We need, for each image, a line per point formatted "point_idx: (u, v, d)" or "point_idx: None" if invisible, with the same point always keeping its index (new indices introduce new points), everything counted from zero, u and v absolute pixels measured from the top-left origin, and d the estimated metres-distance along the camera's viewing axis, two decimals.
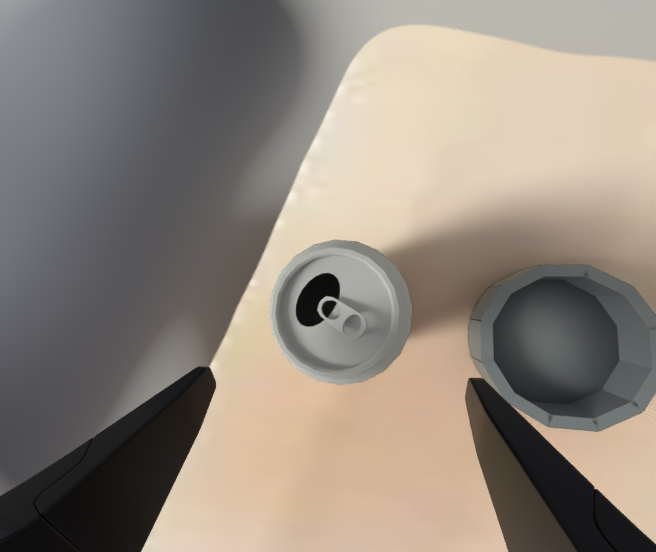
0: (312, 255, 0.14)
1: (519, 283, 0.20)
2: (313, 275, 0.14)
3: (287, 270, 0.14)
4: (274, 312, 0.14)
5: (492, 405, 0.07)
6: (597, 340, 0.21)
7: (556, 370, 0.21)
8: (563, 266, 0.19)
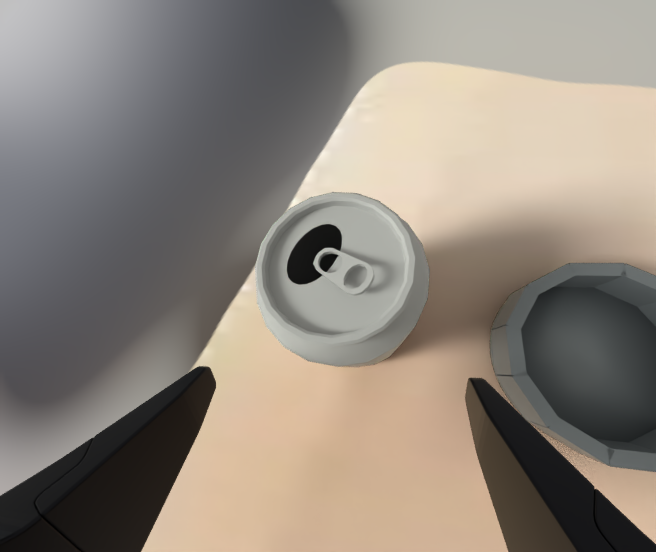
0: (311, 201, 0.12)
1: (547, 283, 0.17)
2: (310, 227, 0.12)
3: (281, 218, 0.12)
4: (260, 264, 0.11)
5: (492, 405, 0.07)
6: (650, 359, 0.17)
7: (604, 396, 0.17)
8: (596, 264, 0.17)
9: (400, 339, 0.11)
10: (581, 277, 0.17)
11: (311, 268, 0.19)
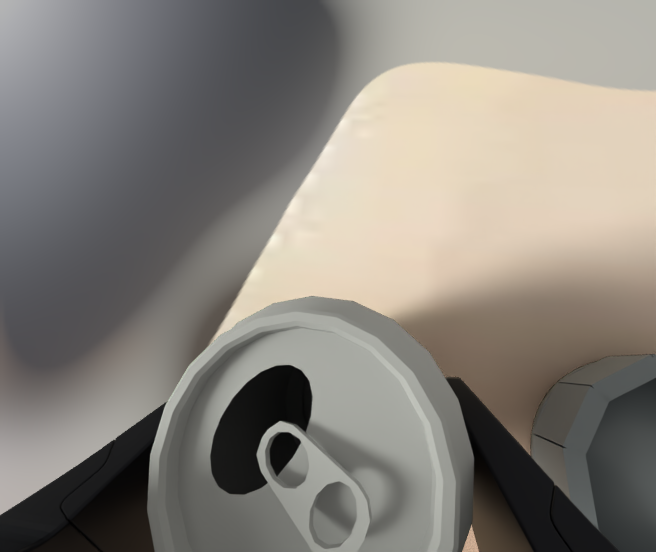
0: (257, 326, 0.06)
1: (621, 383, 0.12)
2: (258, 368, 0.07)
3: (202, 355, 0.06)
4: (158, 454, 0.06)
5: (465, 403, 0.08)
6: None
7: None
8: None
9: None
10: None
11: None
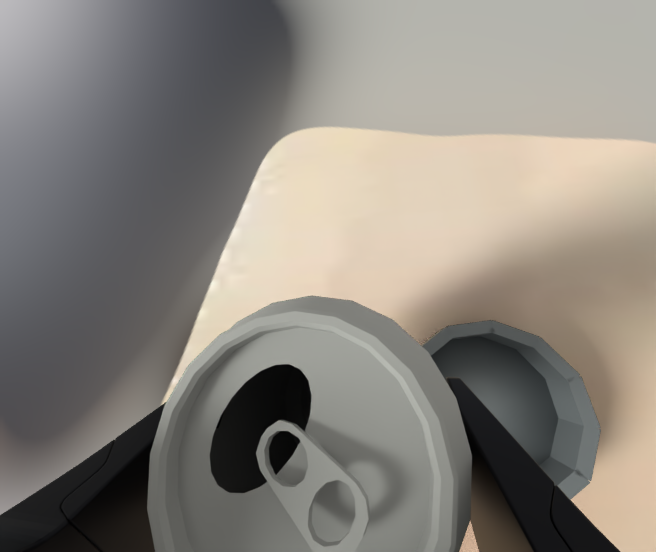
0: (257, 325, 0.06)
1: (431, 348, 0.19)
2: (257, 367, 0.07)
3: (202, 355, 0.06)
4: (158, 453, 0.06)
5: (465, 403, 0.08)
6: (530, 398, 0.19)
7: None
8: (469, 324, 0.19)
9: None
10: (460, 336, 0.19)
11: None
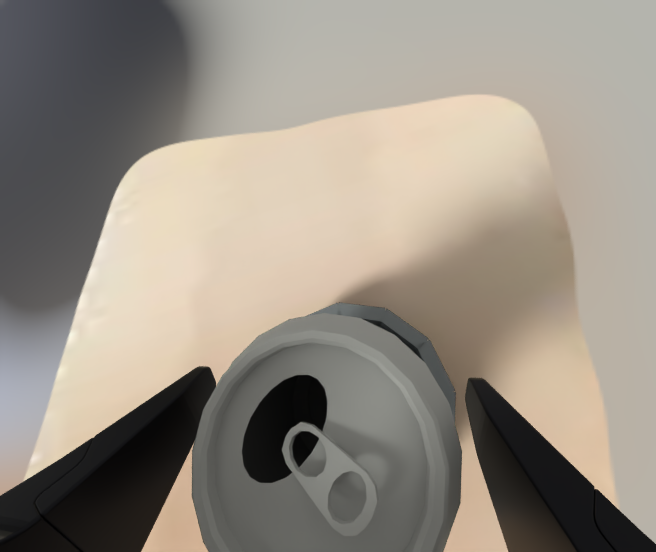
0: (280, 342, 0.08)
1: None
2: (280, 377, 0.08)
3: (234, 367, 0.08)
4: (200, 450, 0.07)
5: (492, 405, 0.07)
6: None
7: None
8: (316, 313, 0.17)
9: None
10: None
11: None
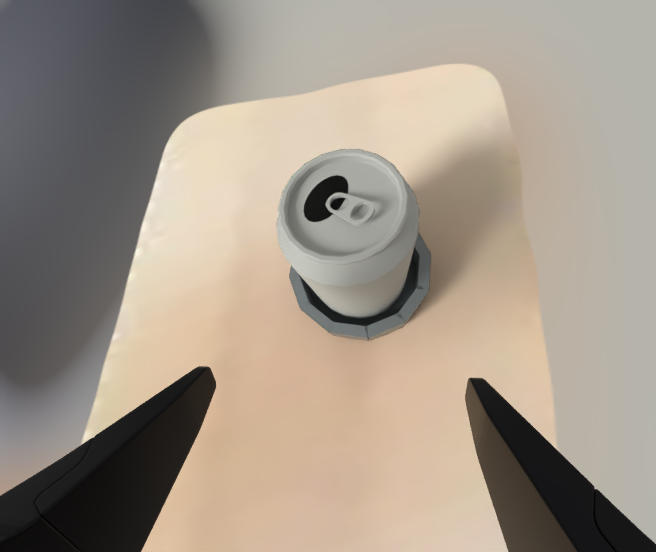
0: (323, 156, 0.14)
1: None
2: (322, 178, 0.14)
3: (298, 170, 0.14)
4: (282, 206, 0.14)
5: (492, 405, 0.07)
6: None
7: None
8: None
9: (396, 264, 0.13)
10: None
11: None
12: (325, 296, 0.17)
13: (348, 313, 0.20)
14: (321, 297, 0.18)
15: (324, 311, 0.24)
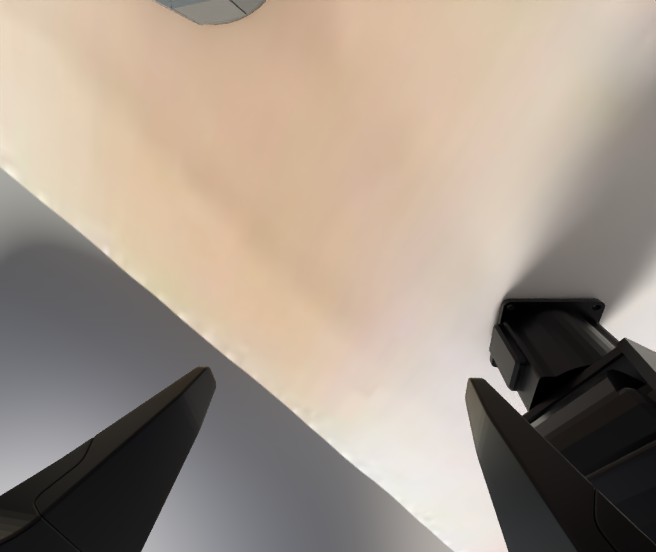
0: None
1: None
2: None
3: None
4: None
5: (492, 405, 0.07)
6: None
7: None
8: None
9: None
10: None
11: None
12: None
13: None
14: None
15: None
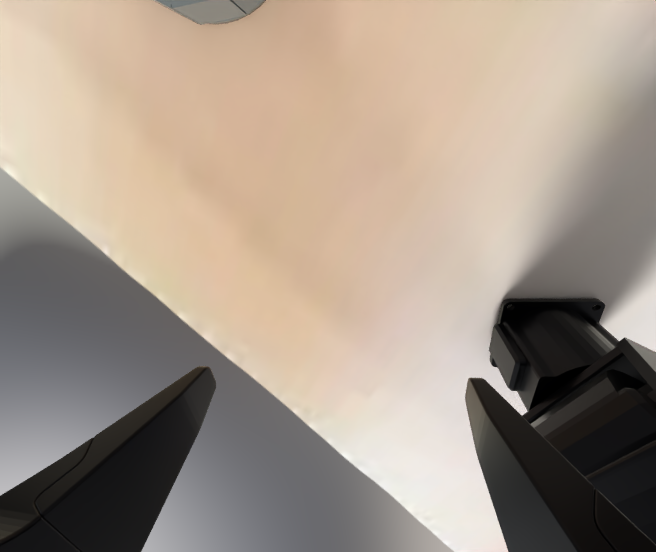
0: None
1: None
2: None
3: None
4: None
5: (492, 405, 0.07)
6: None
7: None
8: None
9: None
10: None
11: None
12: None
13: None
14: None
15: None
